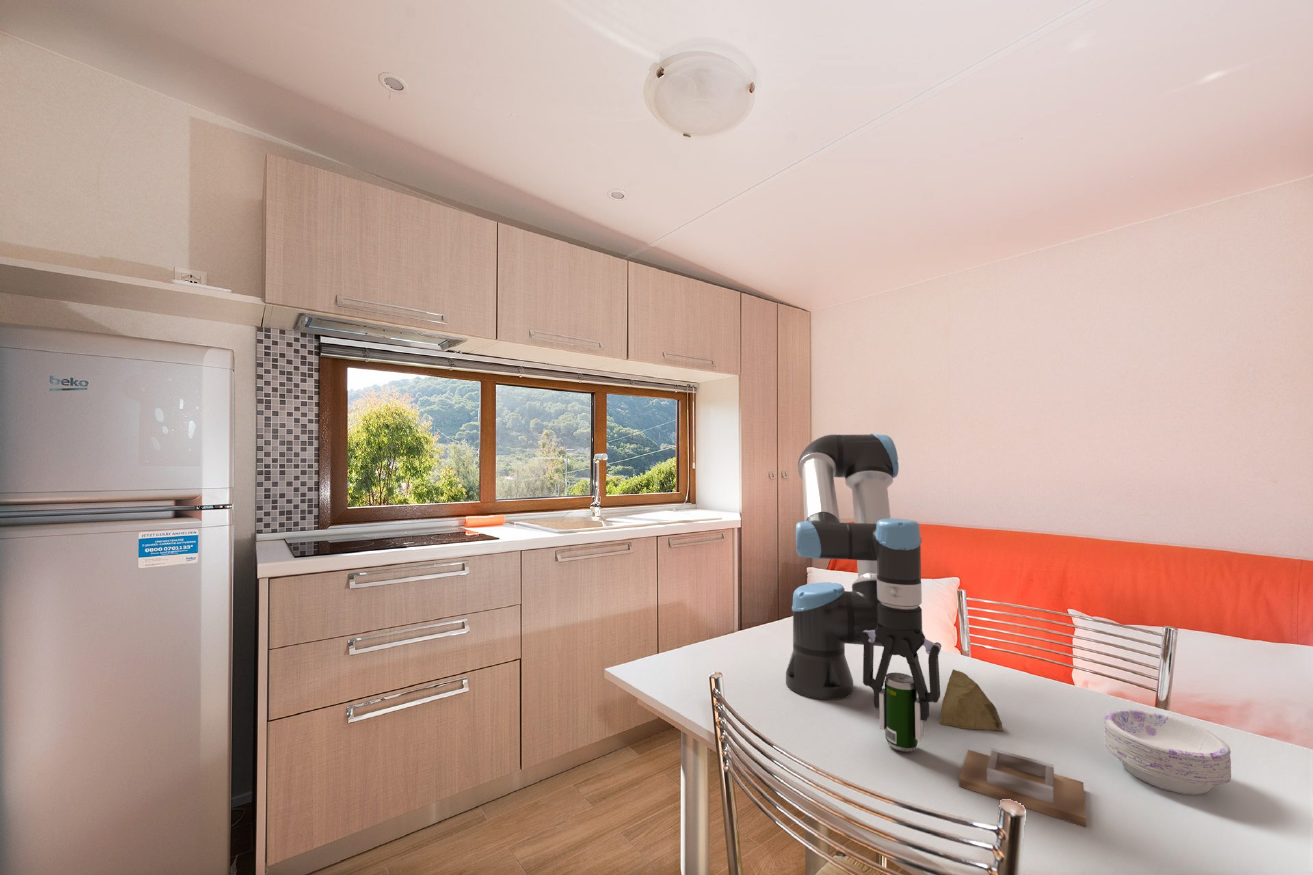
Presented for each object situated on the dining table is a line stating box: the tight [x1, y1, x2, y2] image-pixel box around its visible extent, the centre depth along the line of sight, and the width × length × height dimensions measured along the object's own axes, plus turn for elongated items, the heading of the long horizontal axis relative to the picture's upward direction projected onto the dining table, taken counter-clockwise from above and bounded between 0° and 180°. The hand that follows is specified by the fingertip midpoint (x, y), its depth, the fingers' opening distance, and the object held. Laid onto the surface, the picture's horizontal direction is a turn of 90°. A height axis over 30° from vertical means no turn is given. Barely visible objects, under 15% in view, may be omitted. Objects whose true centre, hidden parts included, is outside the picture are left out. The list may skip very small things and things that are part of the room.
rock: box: [938, 669, 1004, 731], centre depth 106 cm, size 11×9×10 cm
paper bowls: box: [1103, 709, 1232, 796], centre depth 89 cm, size 15×15×8 cm
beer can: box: [884, 672, 919, 752], centre depth 98 cm, size 5×5×12 cm
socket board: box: [958, 747, 1087, 828], centre depth 86 cm, size 16×11×3 cm
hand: (901, 731), depth 98 cm, fingers closed on beer can, 5 cm apart
